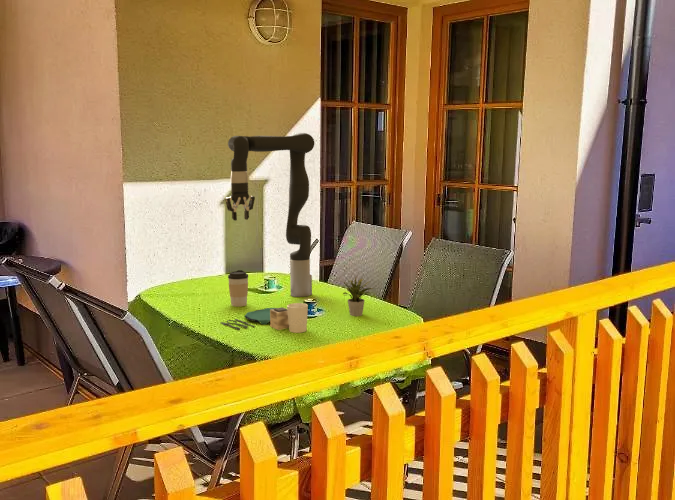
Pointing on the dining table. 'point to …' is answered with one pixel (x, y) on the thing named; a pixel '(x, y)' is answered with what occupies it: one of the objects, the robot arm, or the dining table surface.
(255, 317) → the cutlery set
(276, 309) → the button cap
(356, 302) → the house plant
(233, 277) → the coffee cup
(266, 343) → the dining table surface
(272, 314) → the button box
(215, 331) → the dining table surface
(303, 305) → the tan cylinder
